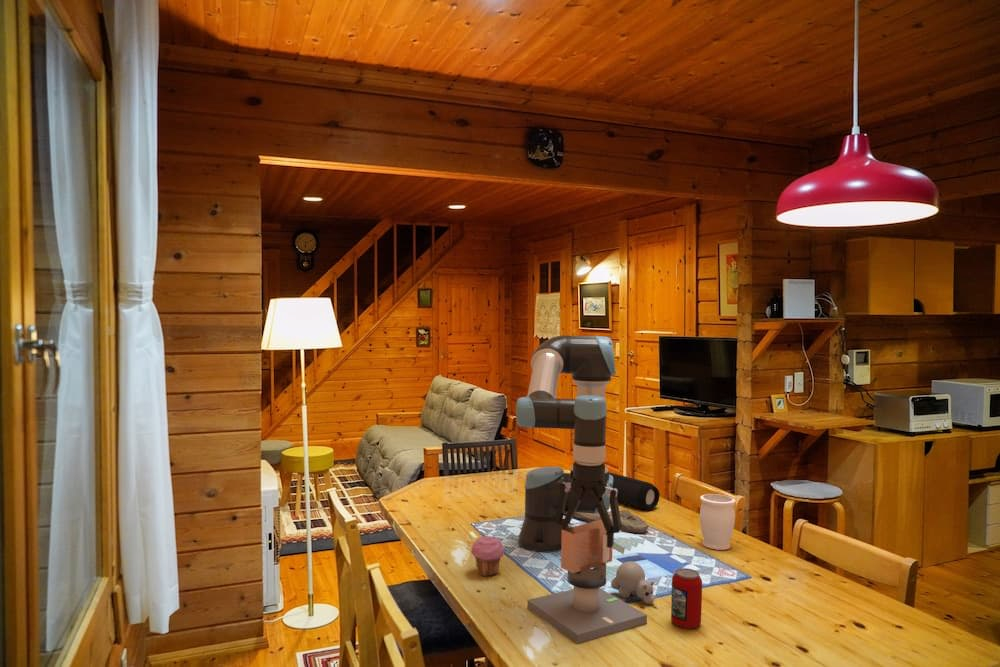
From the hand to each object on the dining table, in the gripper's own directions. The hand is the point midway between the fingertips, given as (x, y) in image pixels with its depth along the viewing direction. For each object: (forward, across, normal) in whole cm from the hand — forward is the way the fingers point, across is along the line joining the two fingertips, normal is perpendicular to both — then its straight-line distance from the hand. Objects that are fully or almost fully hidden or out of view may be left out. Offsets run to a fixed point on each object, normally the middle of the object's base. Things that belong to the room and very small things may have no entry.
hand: (587, 557), depth 160 cm
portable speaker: (+14, +15, -99) cm, 101 cm away
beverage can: (+14, -22, -6) cm, 27 cm away
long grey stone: (+15, +17, -72) cm, 75 cm away
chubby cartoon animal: (+14, -8, -15) cm, 22 cm away
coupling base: (+14, 0, 0) cm, 14 cm away
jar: (+14, -22, -65) cm, 70 cm away
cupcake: (+14, +32, -13) cm, 37 cm away
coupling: (+6, 0, 0) cm, 6 cm away
